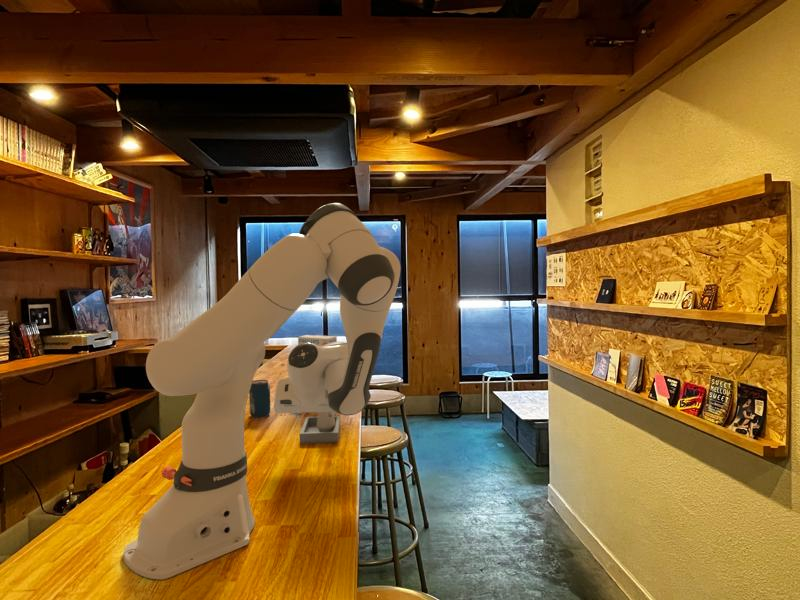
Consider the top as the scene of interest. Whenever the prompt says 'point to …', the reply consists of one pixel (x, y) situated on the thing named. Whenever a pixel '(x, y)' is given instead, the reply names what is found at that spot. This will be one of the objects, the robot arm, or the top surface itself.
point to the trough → (313, 435)
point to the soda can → (259, 398)
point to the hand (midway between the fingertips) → (314, 415)
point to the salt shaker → (325, 422)
